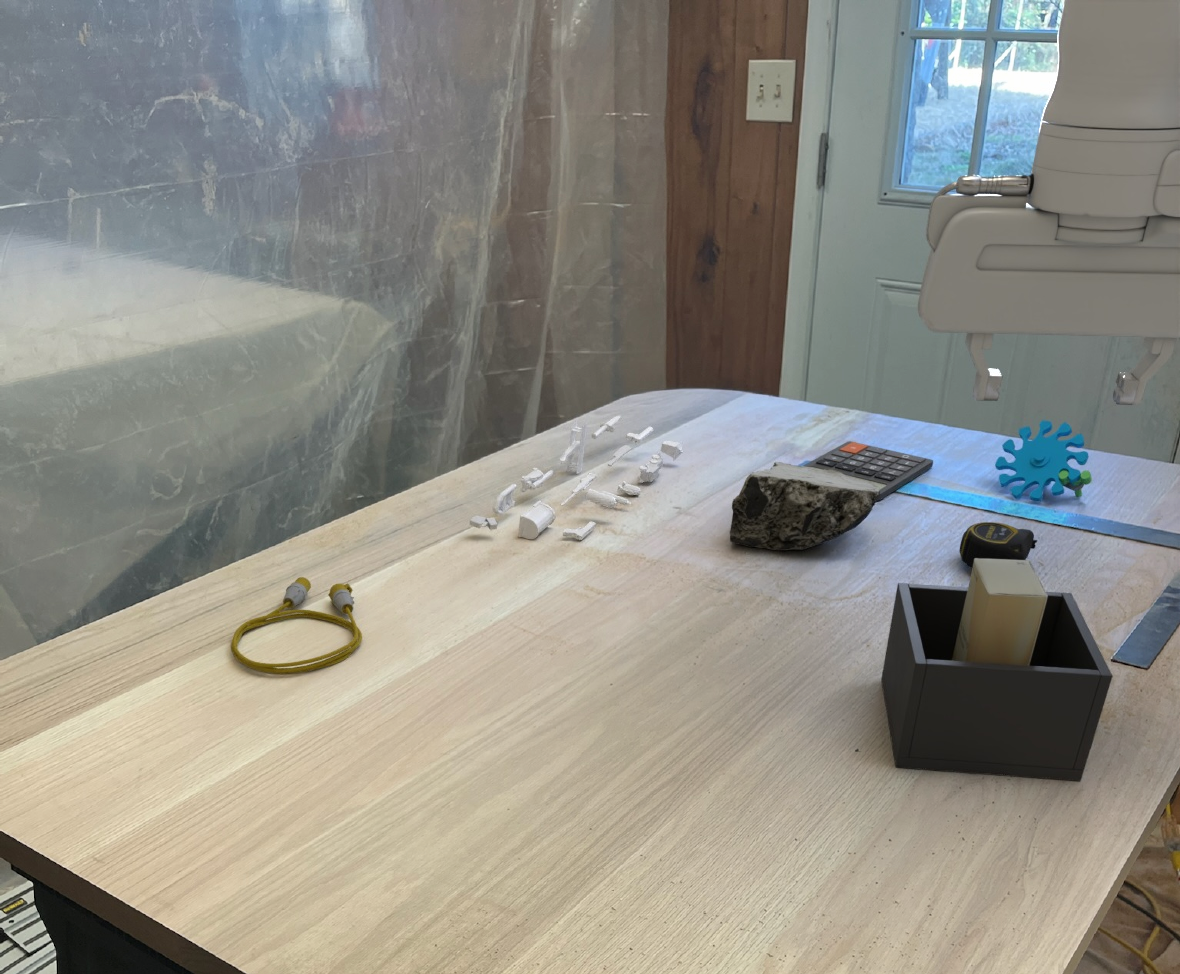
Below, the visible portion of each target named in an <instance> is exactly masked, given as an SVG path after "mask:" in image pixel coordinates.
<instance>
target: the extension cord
mask: <svg viewBox="0 0 1180 974" xmlns="http://www.w3.org/2000/svg"><path fill="white" fill-rule="evenodd" d="M311 587H312V584H311V582H310V580H309V579H308V578H307V577H304V576H300V577H297V578H296V579H295V581H294V582H291V584H290V585H289V586H287V587H286V589H285V594H284V597H283V599H282V605H280V606H279V607H278V608H276V609H274V610H273V611H271V612H269V613H268V614H266V615H262V616H258V617H255V618H252V619H249V620H247V621H245V622H243V623H242V624H241V625H240V626H239V627H238V628H237V629H236V630H235V632H234V633H233V636H232V639H231V644H230V649H231V653H232V655H233V656H234V658H235V659H236V660H237V661H238V662H240V663H241V664H242V665H244V666H246V667H247V668H250V669H253V670H255V671H259V672H263V673H268V674H277V675H279V674H281V675H283V674H284V675H285V674H297V673H298V674H299V673H304V672H309V671H313V670H319V669H323V668H326V667H329V666H332V665H335V664H338V663H340V662H342V661H344V660H346V659H347V658H349V657H350V656H351V654H352V653H353V652H354V651H355V650H356V649H357V648H358V647H359V646H360V645H361V643H362V641H363V633H362V632H361V630H360V628H359V627H358V625H357V623H356V620H355V618H354V616H353V614H352V613H353V611H354V604H355V601H354V599H355V596H352V593H353V588H352V587H351V585H350V583H348V582H347V583H345V584H343V583H335V584H333V585H332V586H331V587H330V588H329V589H330V590H329V593H328V594H327V595H328V597H329V598H330V601H331V603H332V605H334V607H335V608H337V609H338V610H339V611H340V612H341V613H342V614H343V615H347V616H348V618H349V620H348V619H345V618H344V617H341V616H337V615H334V614H331V613H326V612H322V611H317V610H316V611H315V610H311V609H293V608H295V607H296V606H297V605H299V604H301V603H302V604H303V602H305V600H306V597H307V596H308V592H309V591H310V589H311ZM286 608H287V609H290V610H285V609H286ZM283 610H284V611H283ZM295 618H311V619H319V620H323V621H327V622H330V623H334V624H336V625H339V626H341V627H344V628H346V629H347V630H349V631H350V632H351V633H352V634H351V635H352V639H351V640H350V641H349V642H348V643H347V644H345V645H344V646H341V647H340V648H338V649H335V650H333V651H331V652H328V653H325V654H322V655H319V656H316V657H313V658H308V659H304V660H298V661H292V662H281V663H266V662H259V661H255V660H252V659H249V658H247V657H246V656H245V655H243V654H242V653H241V652H240V651H239V649H238V645H239V642H240V640H241V638H242V636H243V634H244V633H246V632H247V631H250V630H252V629H254V628H257V627H260V626H263V625H267V624H270V623H275V622H279V621H284V620H289V619H295Z"/></svg>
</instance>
